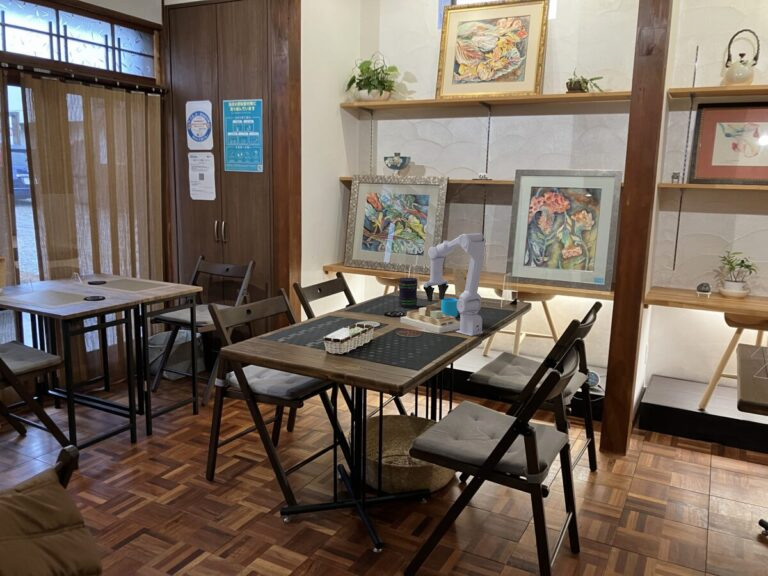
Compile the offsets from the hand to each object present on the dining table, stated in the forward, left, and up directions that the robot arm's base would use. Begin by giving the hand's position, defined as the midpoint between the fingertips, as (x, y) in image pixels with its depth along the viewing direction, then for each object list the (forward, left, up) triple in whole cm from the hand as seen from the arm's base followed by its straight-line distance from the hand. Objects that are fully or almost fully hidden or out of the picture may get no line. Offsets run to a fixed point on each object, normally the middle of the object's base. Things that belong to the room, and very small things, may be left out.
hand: (435, 300), depth 294 cm
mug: (+7, -17, -11) cm, 22 cm away
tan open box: (-4, +7, -8) cm, 11 cm away
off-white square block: (0, +7, -6) cm, 9 cm away
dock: (-3, +6, -11) cm, 12 cm away
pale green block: (-7, +7, -6) cm, 12 cm away
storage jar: (+35, -13, -11) cm, 39 cm away
